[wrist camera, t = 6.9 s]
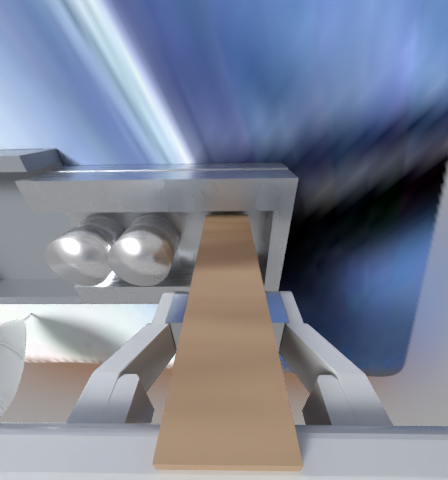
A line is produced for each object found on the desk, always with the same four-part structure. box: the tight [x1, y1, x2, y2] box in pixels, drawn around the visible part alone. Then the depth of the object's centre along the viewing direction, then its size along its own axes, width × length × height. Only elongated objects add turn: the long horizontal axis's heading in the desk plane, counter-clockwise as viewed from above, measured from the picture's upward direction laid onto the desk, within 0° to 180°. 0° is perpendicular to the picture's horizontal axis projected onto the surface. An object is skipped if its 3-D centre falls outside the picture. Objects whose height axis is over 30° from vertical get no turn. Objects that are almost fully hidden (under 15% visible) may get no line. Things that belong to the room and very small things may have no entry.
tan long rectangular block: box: [152, 215, 303, 471], centre depth 9 cm, size 4×2×10 cm, turn 1°
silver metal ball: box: [108, 215, 179, 286], centre depth 13 cm, size 3×3×3 cm
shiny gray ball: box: [45, 215, 125, 286], centre depth 13 cm, size 3×3×3 cm
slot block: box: [14, 163, 298, 304], centre depth 14 cm, size 9×14×4 cm, turn 91°
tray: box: [0, 149, 83, 304], centre depth 14 cm, size 11×11×3 cm
